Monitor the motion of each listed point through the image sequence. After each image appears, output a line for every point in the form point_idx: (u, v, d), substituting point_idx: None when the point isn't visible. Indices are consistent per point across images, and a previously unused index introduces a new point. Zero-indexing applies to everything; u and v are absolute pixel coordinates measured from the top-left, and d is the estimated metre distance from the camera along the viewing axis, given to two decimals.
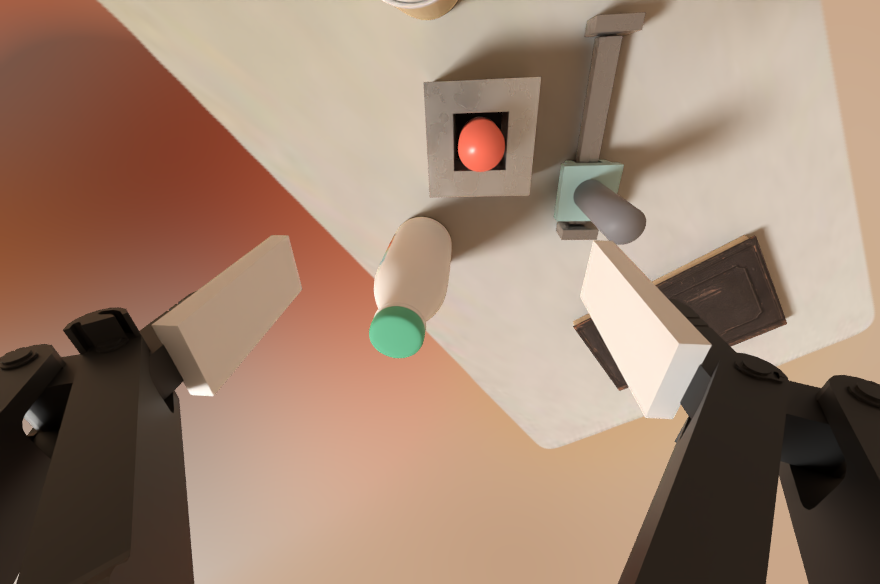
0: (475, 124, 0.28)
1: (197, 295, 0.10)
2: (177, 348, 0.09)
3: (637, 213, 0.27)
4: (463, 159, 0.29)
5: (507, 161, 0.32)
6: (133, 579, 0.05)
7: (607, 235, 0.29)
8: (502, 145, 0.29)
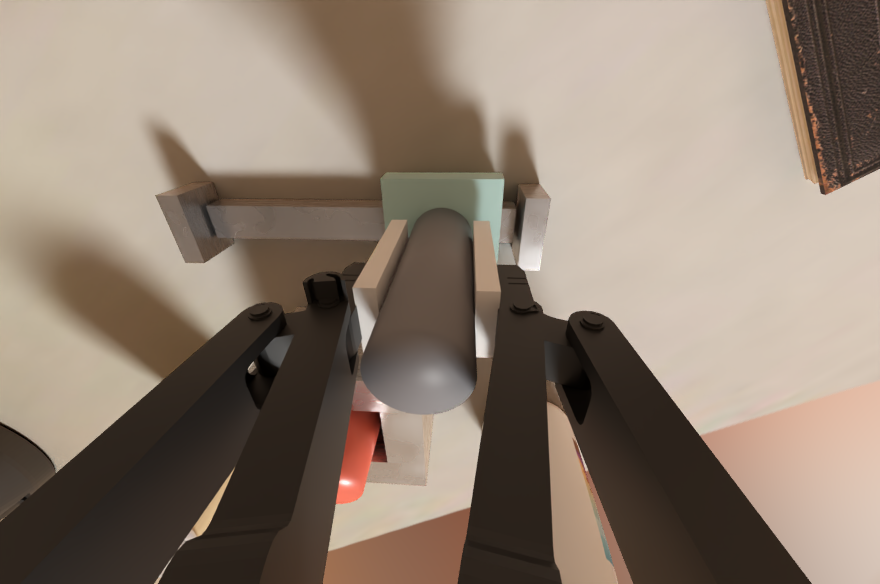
0: None
1: (370, 266, 0.12)
2: (367, 309, 0.11)
3: (374, 355, 0.09)
4: (348, 500, 0.19)
5: (366, 409, 0.20)
6: (287, 545, 0.05)
7: (445, 408, 0.10)
8: None
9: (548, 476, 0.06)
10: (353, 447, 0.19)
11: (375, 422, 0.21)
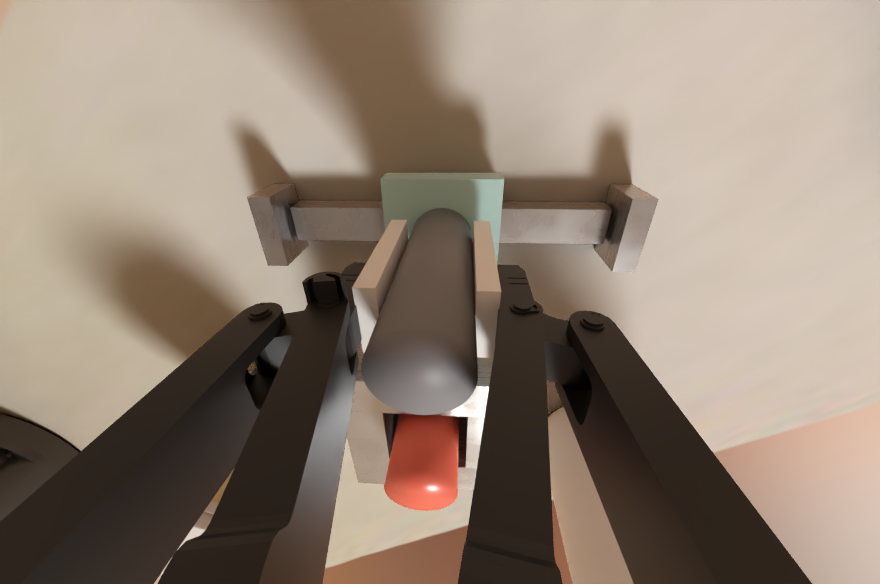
0: (388, 494, 0.19)
1: (370, 266, 0.12)
2: (367, 309, 0.11)
3: (375, 355, 0.09)
4: (437, 507, 0.19)
5: (454, 414, 0.19)
6: (286, 544, 0.05)
7: (447, 409, 0.10)
8: (416, 471, 0.17)
9: (548, 476, 0.06)
10: (445, 453, 0.19)
11: (457, 427, 0.21)
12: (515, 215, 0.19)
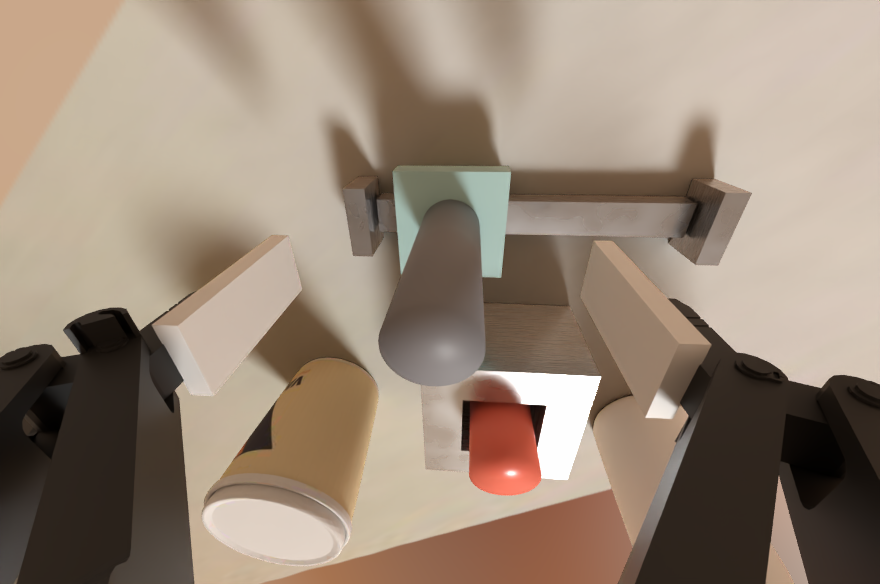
0: (472, 478, 0.19)
1: (197, 295, 0.10)
2: (177, 348, 0.09)
3: (392, 328, 0.10)
4: (518, 492, 0.20)
5: (534, 402, 0.20)
6: (133, 579, 0.05)
7: (456, 380, 0.11)
8: (505, 456, 0.18)
9: None
10: (528, 439, 0.19)
11: None
12: (599, 208, 0.19)
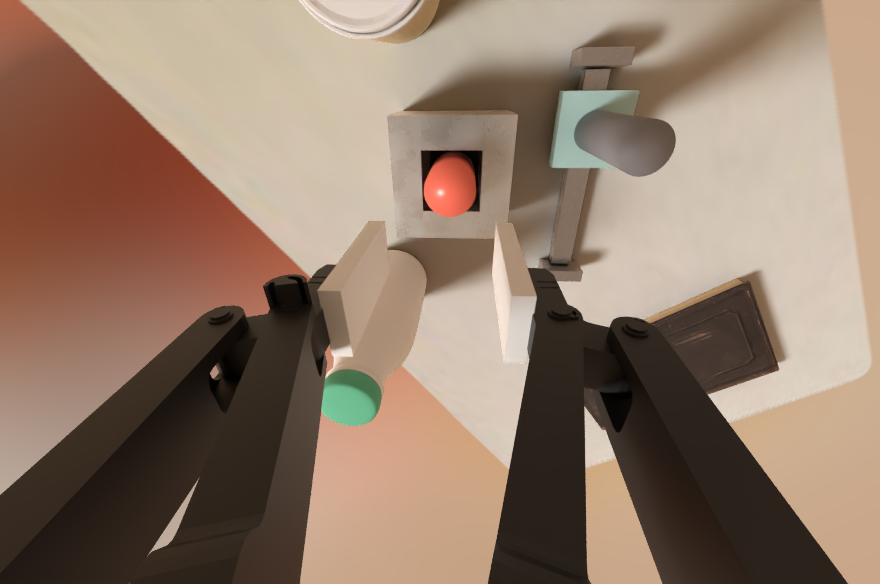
0: (442, 166, 0.25)
1: (339, 268, 0.12)
2: (333, 312, 0.11)
3: (664, 128, 0.20)
4: (430, 203, 0.26)
5: (481, 202, 0.29)
6: (260, 544, 0.05)
7: (621, 162, 0.21)
8: (473, 190, 0.26)
9: (583, 489, 0.05)
10: None
11: None
12: (575, 218, 0.35)
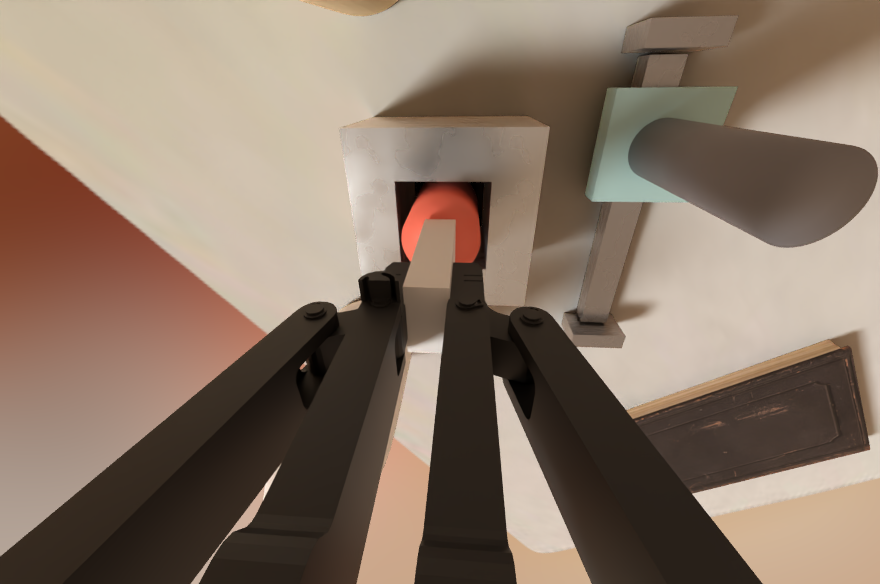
0: (429, 205, 0.16)
1: (415, 265, 0.12)
2: (416, 308, 0.11)
3: (859, 162, 0.10)
4: (411, 256, 0.18)
5: (489, 257, 0.19)
6: (326, 552, 0.05)
7: (757, 223, 0.11)
8: (476, 239, 0.17)
9: (499, 464, 0.06)
10: None
11: None
12: (618, 266, 0.25)
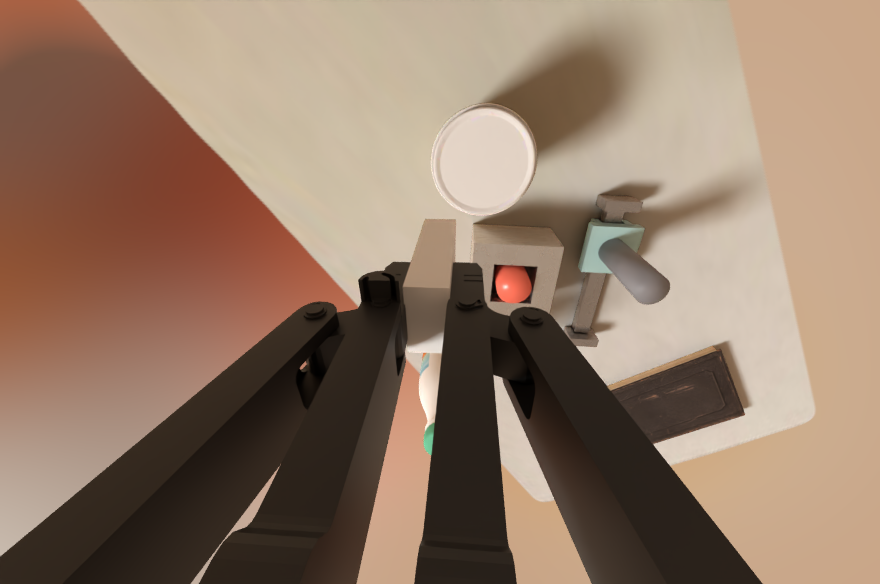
0: (511, 274, 0.38)
1: (415, 265, 0.12)
2: (415, 308, 0.11)
3: (663, 280, 0.32)
4: (500, 294, 0.40)
5: (532, 298, 0.41)
6: (325, 551, 0.05)
7: (635, 296, 0.33)
8: (529, 288, 0.39)
9: (499, 464, 0.06)
10: None
11: None
12: (594, 302, 0.47)
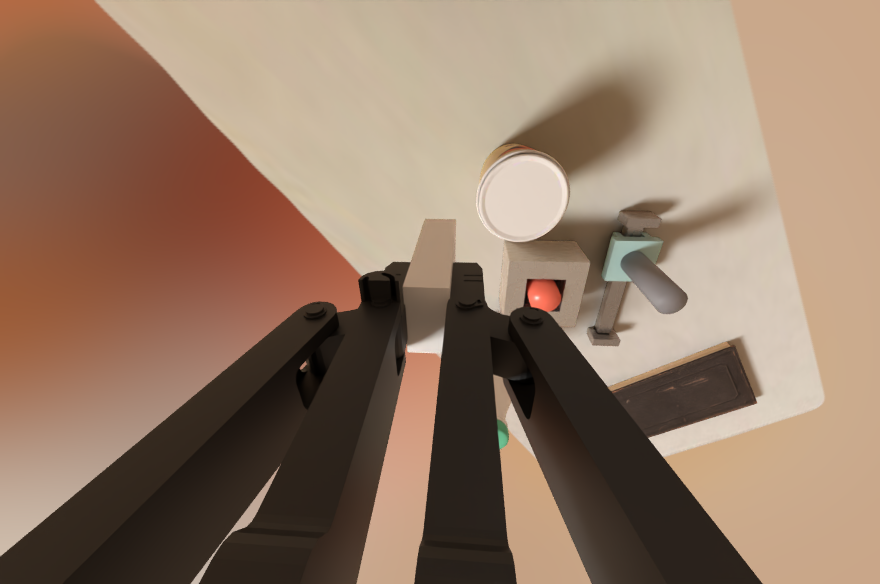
0: (543, 287, 0.43)
1: (415, 265, 0.12)
2: (415, 308, 0.11)
3: (681, 293, 0.36)
4: (532, 305, 0.44)
5: (561, 307, 0.45)
6: (325, 551, 0.05)
7: (656, 307, 0.37)
8: (559, 299, 0.44)
9: (499, 464, 0.06)
10: None
11: None
12: (616, 306, 0.51)
